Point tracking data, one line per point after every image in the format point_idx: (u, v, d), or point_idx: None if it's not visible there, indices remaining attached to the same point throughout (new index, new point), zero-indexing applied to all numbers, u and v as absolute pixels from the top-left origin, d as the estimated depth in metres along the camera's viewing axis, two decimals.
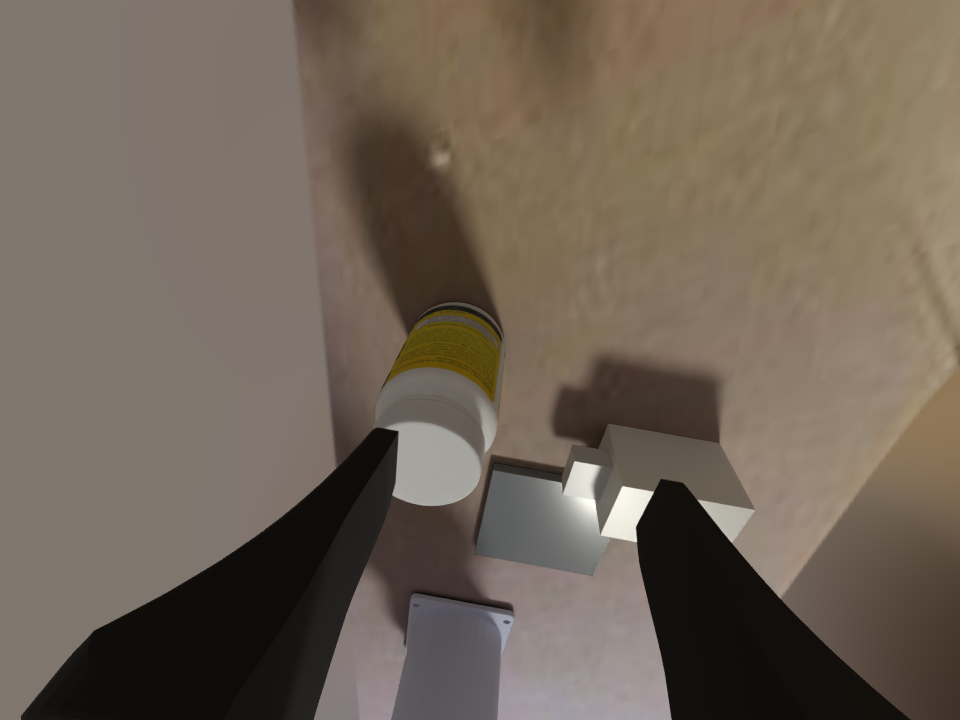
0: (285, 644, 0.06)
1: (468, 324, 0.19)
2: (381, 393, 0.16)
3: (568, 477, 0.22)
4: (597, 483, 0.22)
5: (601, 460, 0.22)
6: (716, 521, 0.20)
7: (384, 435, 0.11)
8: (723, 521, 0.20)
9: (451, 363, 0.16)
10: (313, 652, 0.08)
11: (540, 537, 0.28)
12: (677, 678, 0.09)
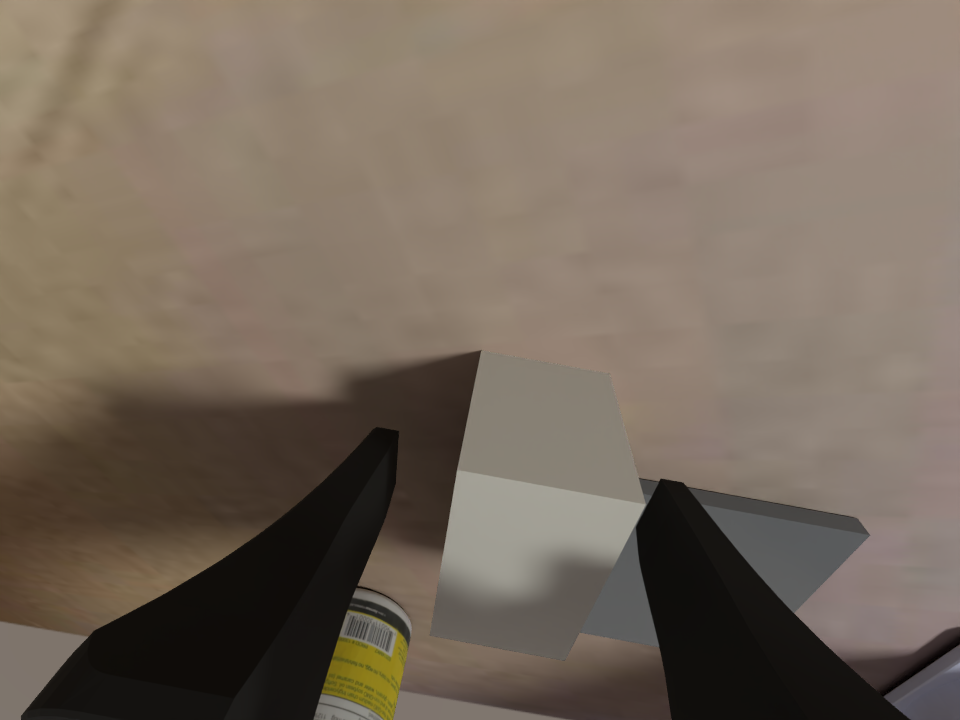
0: (285, 644, 0.06)
1: None
2: None
3: None
4: None
5: None
6: (506, 524, 0.09)
7: (384, 435, 0.11)
8: (504, 515, 0.09)
9: None
10: (313, 652, 0.08)
11: None
12: (677, 678, 0.09)
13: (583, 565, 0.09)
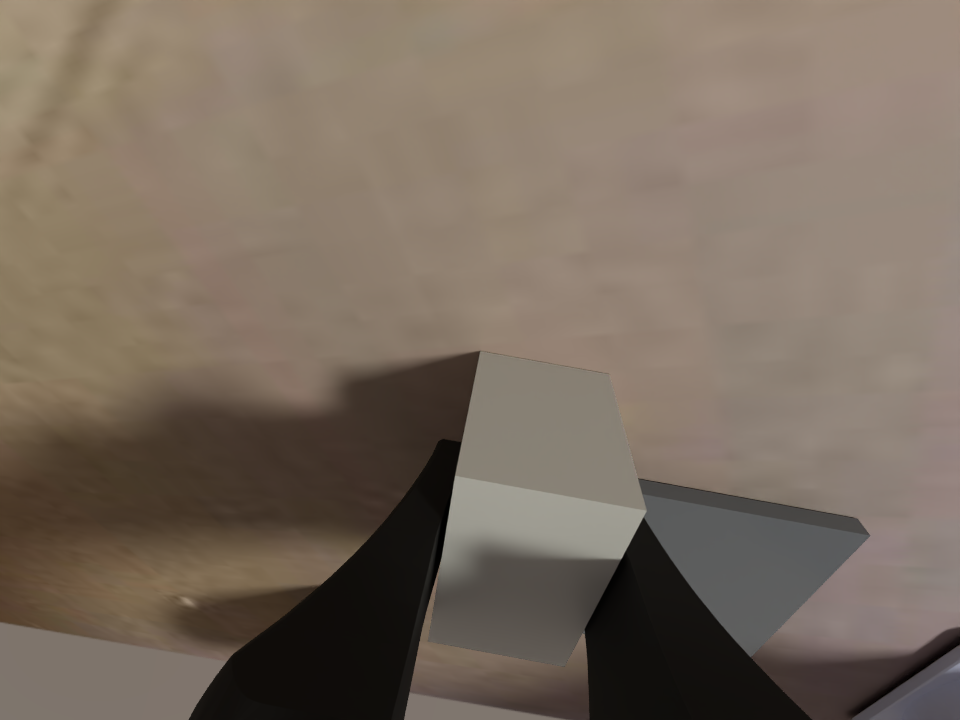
0: (406, 666, 0.06)
1: None
2: None
3: None
4: None
5: None
6: (505, 531, 0.09)
7: (452, 447, 0.11)
8: (503, 521, 0.08)
9: None
10: (410, 670, 0.08)
11: (712, 595, 0.15)
12: (595, 663, 0.09)
13: (584, 571, 0.09)
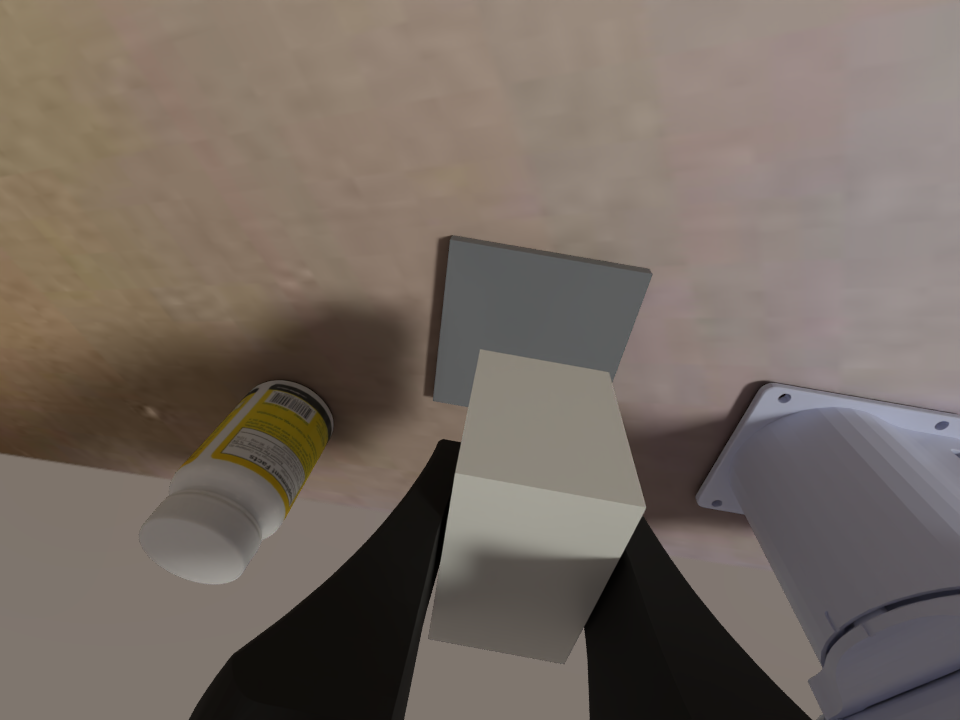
0: (406, 667, 0.06)
1: None
2: None
3: None
4: None
5: None
6: (505, 528, 0.09)
7: (452, 447, 0.11)
8: (503, 518, 0.08)
9: None
10: (410, 670, 0.08)
11: (553, 351, 0.19)
12: (595, 663, 0.09)
13: (583, 568, 0.09)
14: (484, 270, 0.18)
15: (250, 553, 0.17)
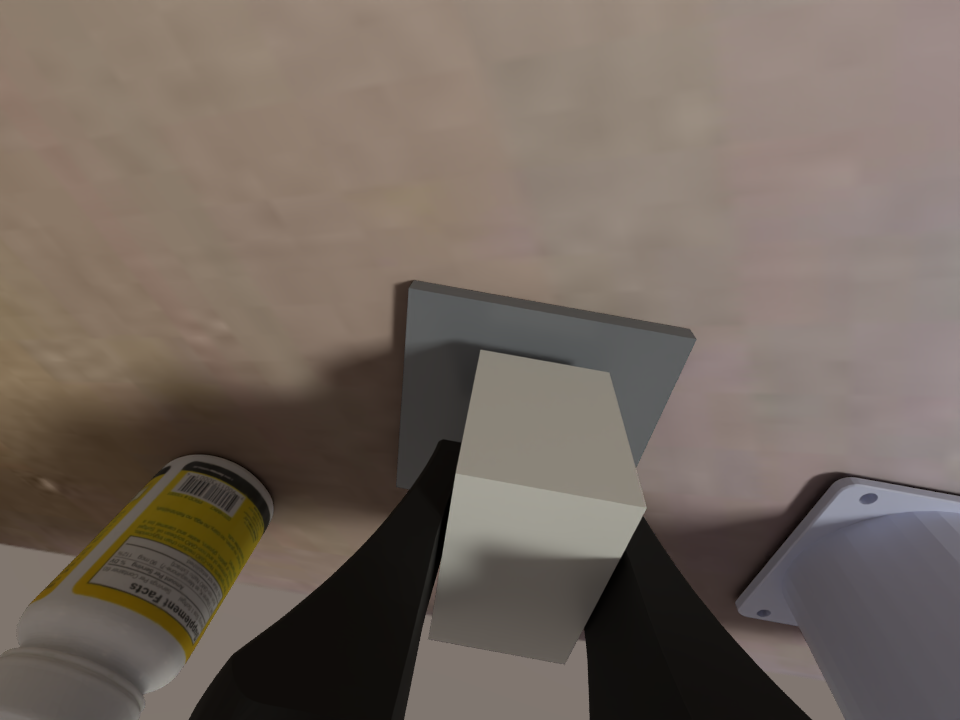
0: (406, 666, 0.06)
1: None
2: None
3: None
4: None
5: None
6: (505, 528, 0.09)
7: (452, 448, 0.11)
8: (504, 519, 0.08)
9: None
10: (410, 670, 0.08)
11: None
12: (595, 663, 0.09)
13: (584, 568, 0.09)
14: (458, 329, 0.13)
15: None
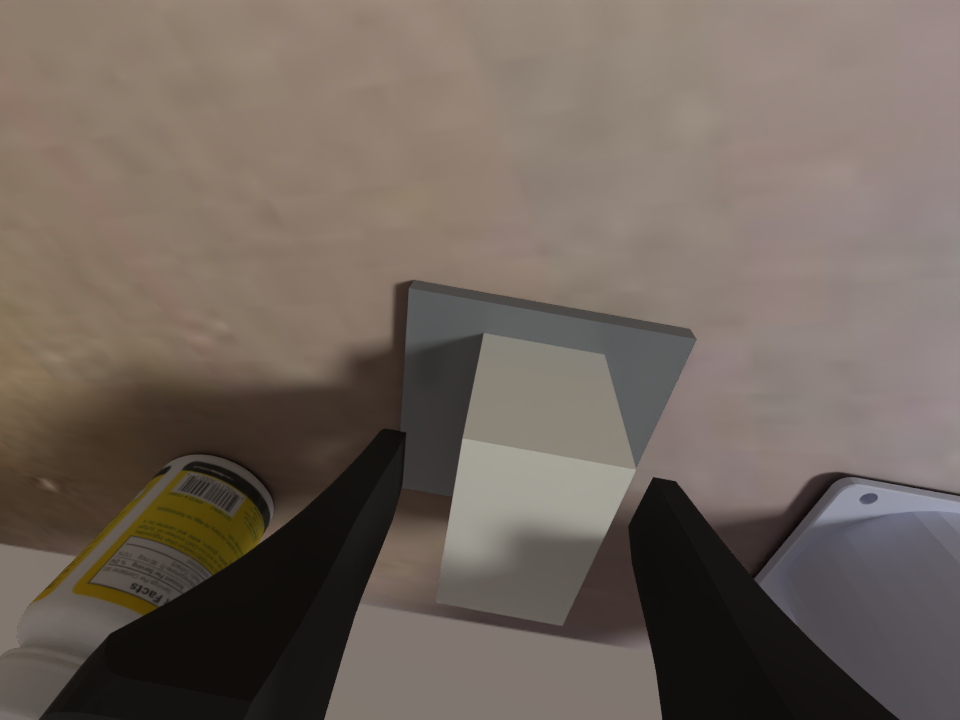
0: (299, 647, 0.06)
1: None
2: None
3: None
4: None
5: None
6: (508, 491, 0.09)
7: (392, 437, 0.11)
8: (506, 482, 0.09)
9: None
10: (324, 654, 0.08)
11: None
12: (668, 676, 0.09)
13: (580, 529, 0.10)
14: (458, 329, 0.13)
15: None
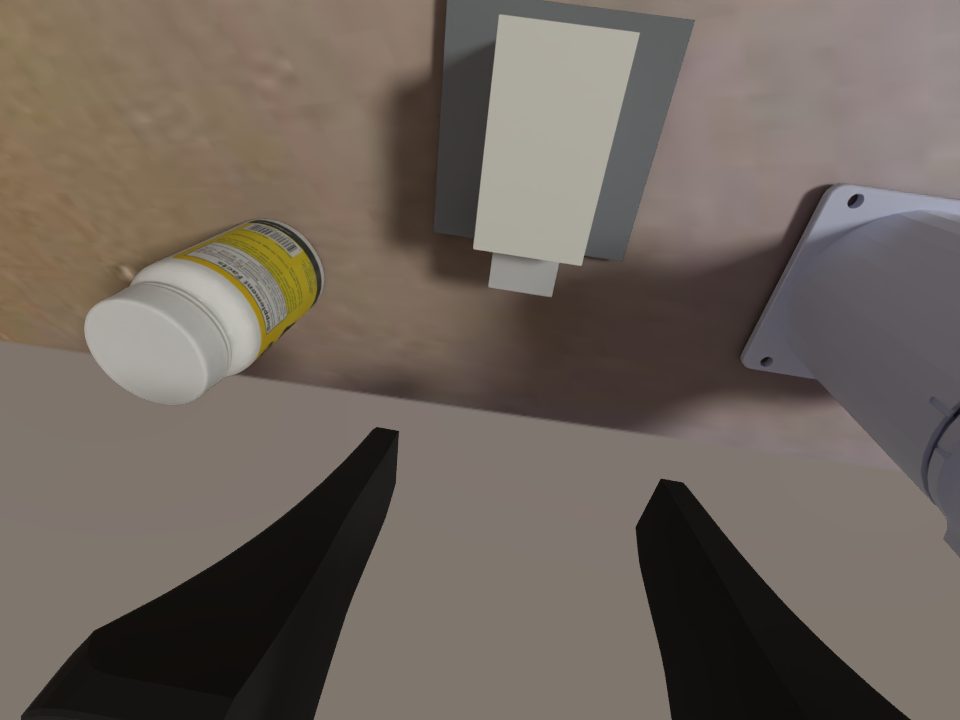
0: (285, 644, 0.06)
1: None
2: None
3: (520, 291, 0.16)
4: None
5: None
6: (535, 80, 0.12)
7: (384, 435, 0.11)
8: (534, 67, 0.11)
9: None
10: (313, 652, 0.08)
11: None
12: (677, 678, 0.09)
13: (594, 123, 0.12)
14: (489, 32, 0.15)
15: (215, 362, 0.14)
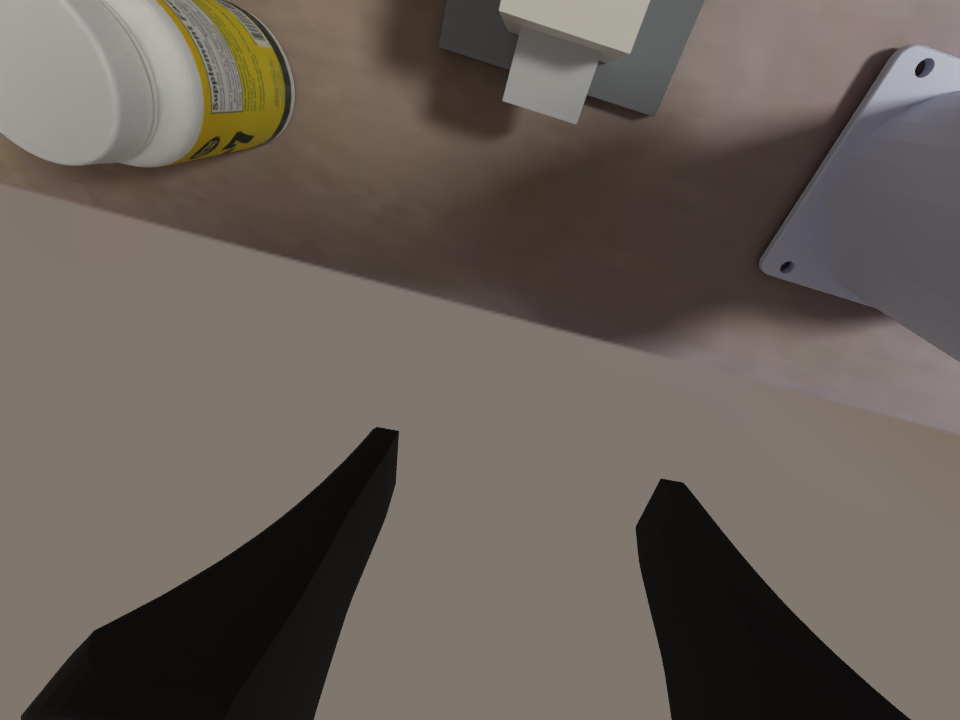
0: (285, 644, 0.06)
1: None
2: None
3: (540, 112, 0.14)
4: (556, 56, 0.13)
5: None
6: None
7: (384, 435, 0.11)
8: None
9: None
10: (313, 652, 0.08)
11: None
12: (677, 678, 0.09)
13: None
14: None
15: (132, 103, 0.10)
